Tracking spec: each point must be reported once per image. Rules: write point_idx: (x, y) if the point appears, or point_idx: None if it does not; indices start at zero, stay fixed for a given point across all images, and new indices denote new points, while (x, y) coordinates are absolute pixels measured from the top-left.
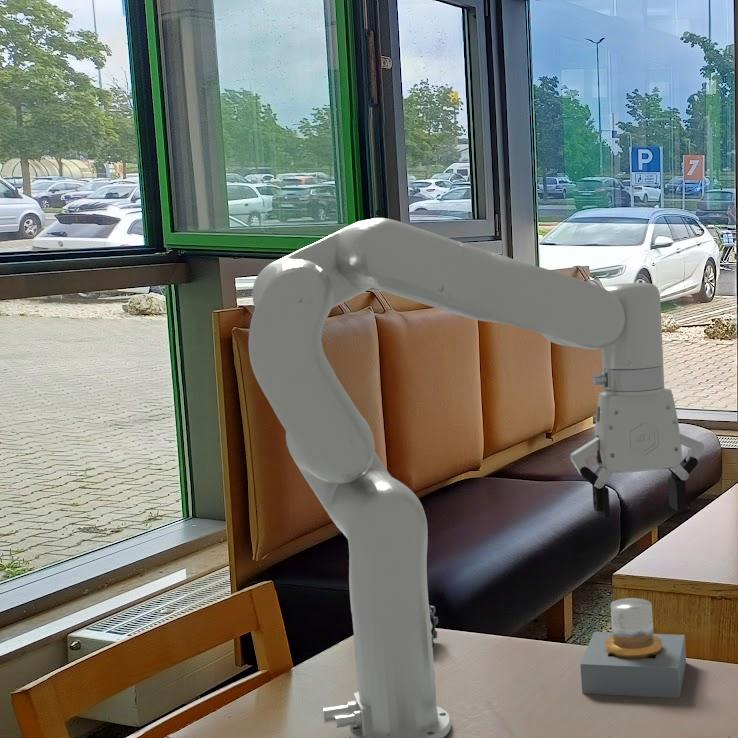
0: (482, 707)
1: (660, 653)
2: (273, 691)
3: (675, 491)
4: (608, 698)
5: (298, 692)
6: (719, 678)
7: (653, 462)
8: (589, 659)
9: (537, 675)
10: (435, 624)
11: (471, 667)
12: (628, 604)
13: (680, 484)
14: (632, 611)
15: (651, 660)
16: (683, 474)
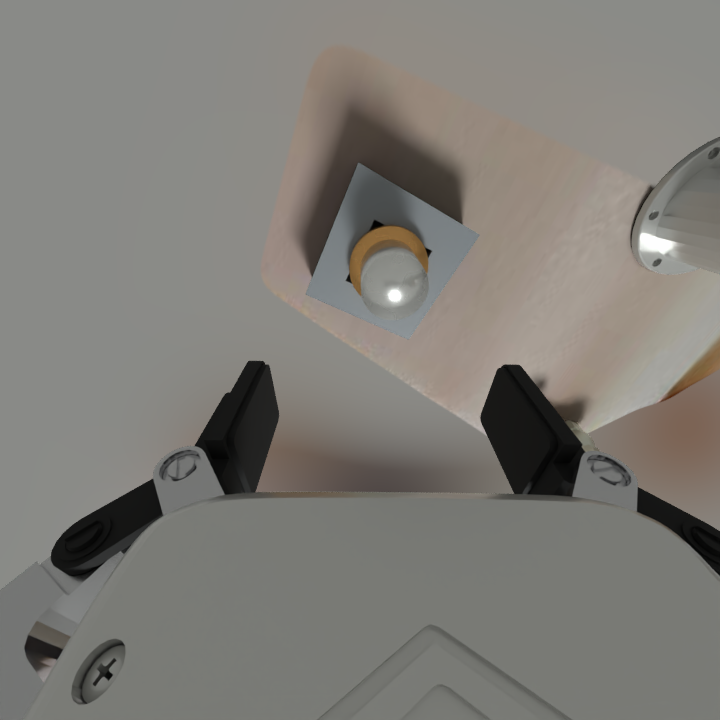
0: (572, 249)
1: (360, 236)
2: (717, 357)
3: (250, 417)
4: None
5: (700, 348)
6: (280, 244)
7: (351, 542)
8: (459, 248)
9: (469, 317)
10: None
11: (517, 356)
12: (398, 291)
13: (218, 427)
14: (406, 256)
15: (382, 212)
16: (180, 473)
